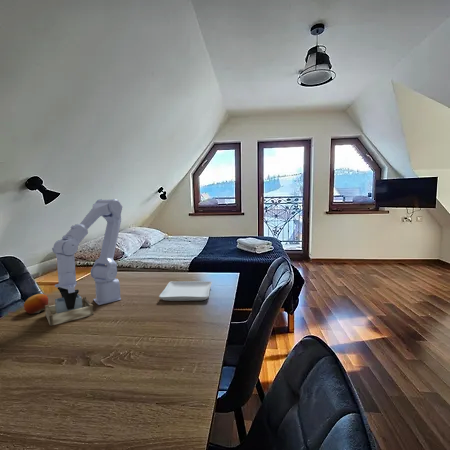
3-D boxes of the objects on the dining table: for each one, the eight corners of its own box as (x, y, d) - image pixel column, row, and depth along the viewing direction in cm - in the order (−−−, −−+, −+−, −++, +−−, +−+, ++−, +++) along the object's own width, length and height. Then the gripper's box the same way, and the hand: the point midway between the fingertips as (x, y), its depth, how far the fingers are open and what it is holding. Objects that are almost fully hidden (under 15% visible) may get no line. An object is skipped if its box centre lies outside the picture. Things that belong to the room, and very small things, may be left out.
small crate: (79, 306, 108) (78, 294, 108) (82, 310, 104) (81, 297, 104) (55, 311, 103) (54, 298, 103) (58, 316, 99) (57, 302, 99)
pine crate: (86, 306, 112) (85, 296, 112) (93, 314, 104) (92, 304, 104) (45, 315, 104) (45, 305, 103) (50, 325, 95) (49, 314, 95)
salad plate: (208, 303, 114) (208, 295, 114) (158, 304, 115) (158, 296, 115) (212, 287, 136) (212, 280, 135) (169, 287, 136) (169, 281, 136)
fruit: (40, 313, 103) (30, 294, 103) (26, 322, 105) (16, 304, 105) (57, 304, 111) (48, 287, 111) (44, 313, 112) (34, 296, 113)
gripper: (51, 269, 105) (53, 303, 107) (57, 277, 94) (60, 315, 95) (71, 266, 110) (74, 299, 111) (80, 273, 99) (82, 310, 100)
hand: (69, 306), depth 103 cm, fingers closed on small crate, 5 cm apart
